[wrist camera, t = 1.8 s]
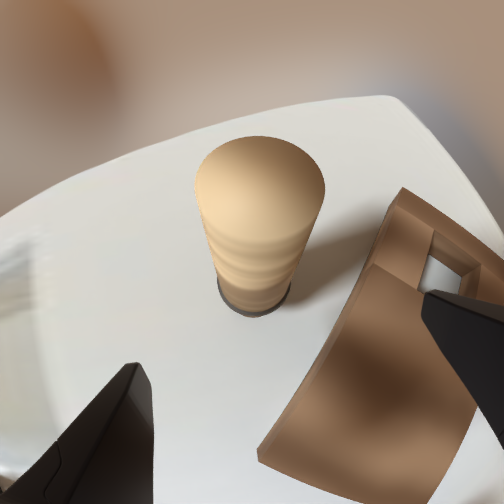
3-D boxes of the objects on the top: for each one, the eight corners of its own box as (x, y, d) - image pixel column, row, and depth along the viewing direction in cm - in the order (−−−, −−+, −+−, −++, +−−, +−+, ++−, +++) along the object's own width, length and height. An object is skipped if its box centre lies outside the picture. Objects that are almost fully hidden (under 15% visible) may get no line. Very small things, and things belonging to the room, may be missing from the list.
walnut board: (399, 504, 13) (417, 515, 10) (256, 449, 16) (258, 461, 13) (489, 276, 21) (508, 264, 18) (388, 206, 23) (402, 186, 21)
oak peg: (262, 337, 19) (287, 272, 7) (210, 303, 20) (161, 198, 8) (295, 285, 20) (349, 168, 9) (243, 255, 21) (240, 119, 10)
